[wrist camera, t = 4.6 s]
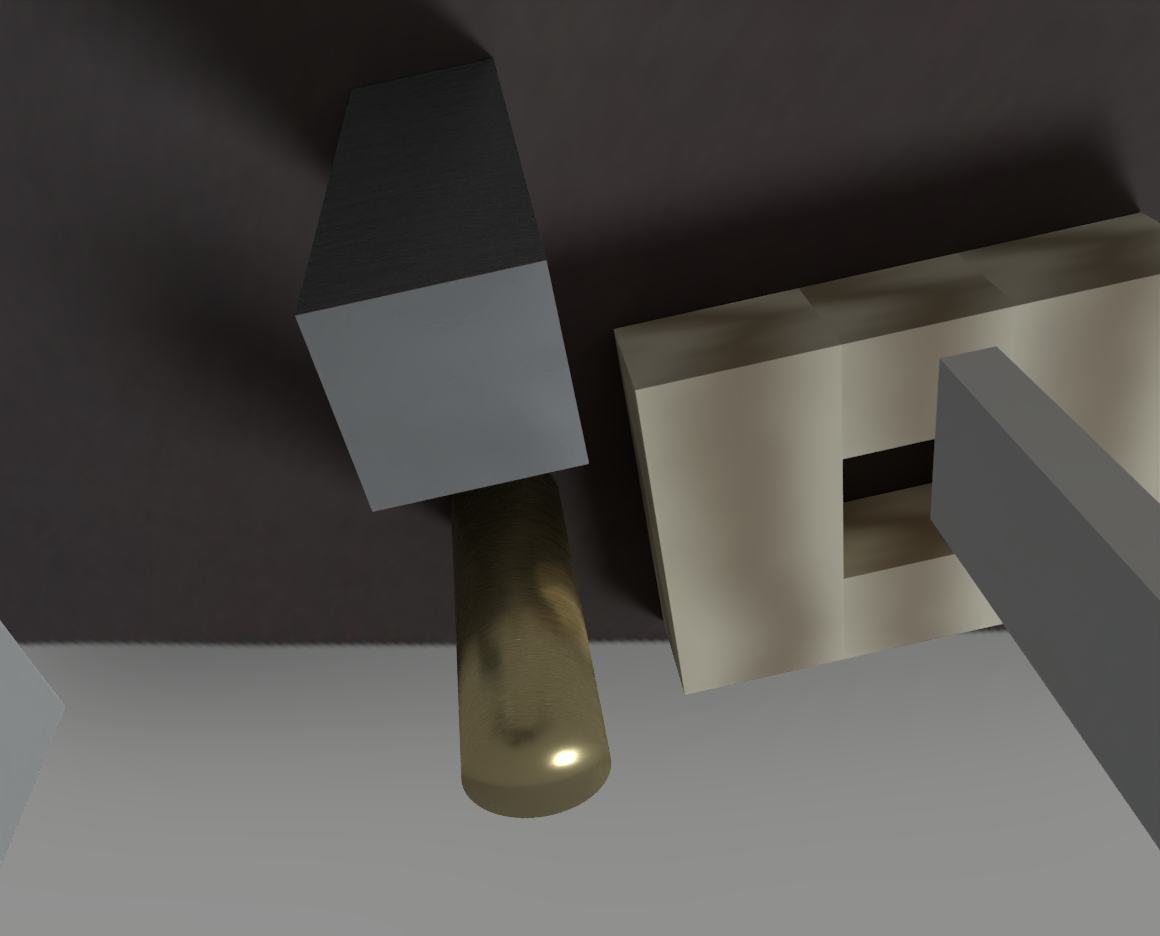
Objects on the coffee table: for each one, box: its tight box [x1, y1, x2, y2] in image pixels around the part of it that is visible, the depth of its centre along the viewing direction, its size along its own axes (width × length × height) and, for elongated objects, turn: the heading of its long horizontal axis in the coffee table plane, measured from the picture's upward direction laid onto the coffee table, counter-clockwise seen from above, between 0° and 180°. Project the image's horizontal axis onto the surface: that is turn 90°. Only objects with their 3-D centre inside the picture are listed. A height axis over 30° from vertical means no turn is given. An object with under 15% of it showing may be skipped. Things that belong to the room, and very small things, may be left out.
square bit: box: [295, 58, 589, 512], centre depth 21 cm, size 4×4×14 cm
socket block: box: [614, 213, 1160, 695], centre depth 34 cm, size 18×14×4 cm
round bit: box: [451, 472, 611, 818], centre depth 30 cm, size 4×4×12 cm
